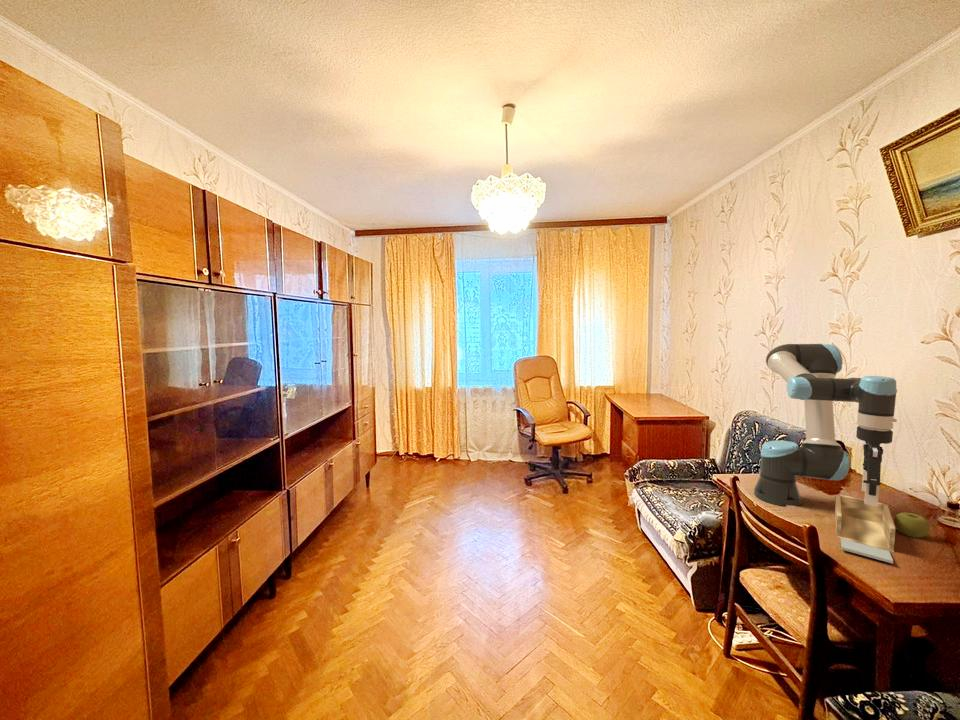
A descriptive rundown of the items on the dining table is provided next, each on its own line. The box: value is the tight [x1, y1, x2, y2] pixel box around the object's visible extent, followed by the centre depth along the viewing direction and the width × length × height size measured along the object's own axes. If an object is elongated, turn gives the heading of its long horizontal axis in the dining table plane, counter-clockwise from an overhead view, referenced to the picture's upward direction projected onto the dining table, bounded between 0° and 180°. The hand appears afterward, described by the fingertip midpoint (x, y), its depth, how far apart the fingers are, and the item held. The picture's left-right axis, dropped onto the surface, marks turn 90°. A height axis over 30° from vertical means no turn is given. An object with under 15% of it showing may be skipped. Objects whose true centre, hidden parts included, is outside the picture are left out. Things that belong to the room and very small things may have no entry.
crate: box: [834, 493, 896, 553], centre depth 129 cm, size 13×22×8 cm, turn 138°
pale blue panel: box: [840, 538, 894, 565], centre depth 117 cm, size 11×1×9 cm
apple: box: [893, 512, 931, 539], centre depth 127 cm, size 8×8×7 cm
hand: (869, 498), depth 116 cm, fingers open, 11 cm apart
